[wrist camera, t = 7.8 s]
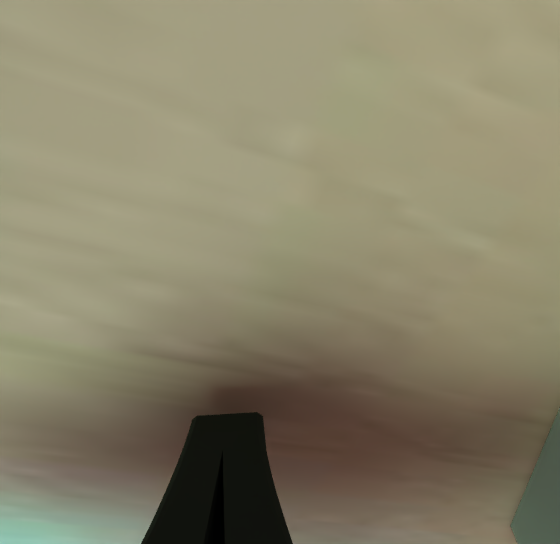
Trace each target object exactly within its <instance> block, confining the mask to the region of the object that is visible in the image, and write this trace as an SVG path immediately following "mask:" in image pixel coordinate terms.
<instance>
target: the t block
mask: <svg viewBox="0 0 560 544" xmlns="http://www.w3.org/2000/svg"><path fill="white" fill-rule="evenodd" d="M510 526H511V528H512V531H513V533H514V536H515V538H516V541H517V543H518V544H560V408H559V410H558V413H557V415H556V417H555V420H554V422H553V425H552V427H551V429H550V432H549V434H548V437H547V439H546V441H545V444H544V446H543V449H542V451H541V453H540V456H539V458H538V461H537V463H536V465H535V468H534V470H533V473H532V475H531V477H530V480H529V482H528V485H527V487H526V489H525V492H524V494H523V496H522V499H521V501H520V504H519V506H518V508H517V511H516V513H515V516H514V518H513V520H512V523H511V525H510Z"/></svg>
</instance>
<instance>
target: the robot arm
mask: <svg viewBox="0 0 560 544" xmlns="http://www.w3.org/2000/svg"><path fill="white" fill-rule="evenodd" d="M141 544H293V543H292V540H291V537H290V534H289V531H288V528H287V525H286V522H285V519H284V516H283V512H282V509H281V506H280V503H279V499H278V496H277V493H276V489H275V486H274V482H273V478H272V474H271V470H270V466H269V461H268V457H267V452H266V443H265V433H264V423H263V416H262V415H261V414H259V413H257V412H254V413H237V414H220V415H202V416H196V417H195V418H194V419H193V420H192V423H191V426H190V429H189V433H188V436H187V439H186V442H185V444H184V447H183V450H182V453H181V455H180V458H179V461H178V463H177V466H176V468H175V471H174V473H173V475H172V478H171V480H170V483H169V485H168V487H167V490H166V492H165V494H164V496H163V498H162V501H161V503H160V505H159V507H158V510H157V512H156V514H155V516H154V518H153V521H152V523H151V525H150V527H149V529H148V531H147V533H146V535H145V537H144V539H143V541H142V543H141Z"/></svg>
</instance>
